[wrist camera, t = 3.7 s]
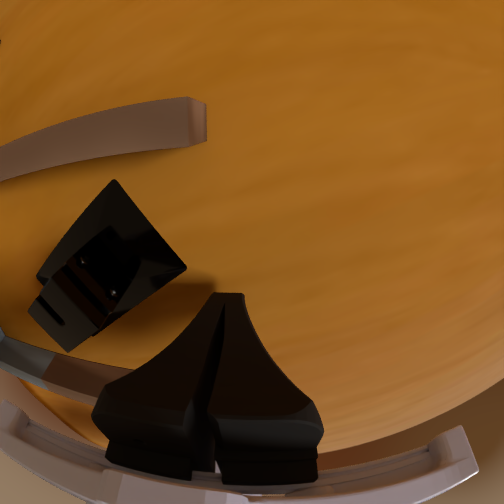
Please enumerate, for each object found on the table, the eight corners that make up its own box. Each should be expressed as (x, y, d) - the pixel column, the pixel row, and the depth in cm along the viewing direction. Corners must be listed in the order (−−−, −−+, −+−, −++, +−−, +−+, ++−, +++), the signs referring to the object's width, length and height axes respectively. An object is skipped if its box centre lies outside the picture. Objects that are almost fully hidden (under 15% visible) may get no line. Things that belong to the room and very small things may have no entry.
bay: (226, 391, 17) (220, 455, 12) (7, 345, 17) (-16, 377, 12) (206, 104, 9) (165, 88, 5) (-52, 181, 9) (-92, 202, 5)
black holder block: (133, 140, 10) (73, 153, 6) (231, 260, 13) (222, 325, 9) (27, 274, 14) (-12, 313, 9) (97, 347, 16) (72, 396, 12)
